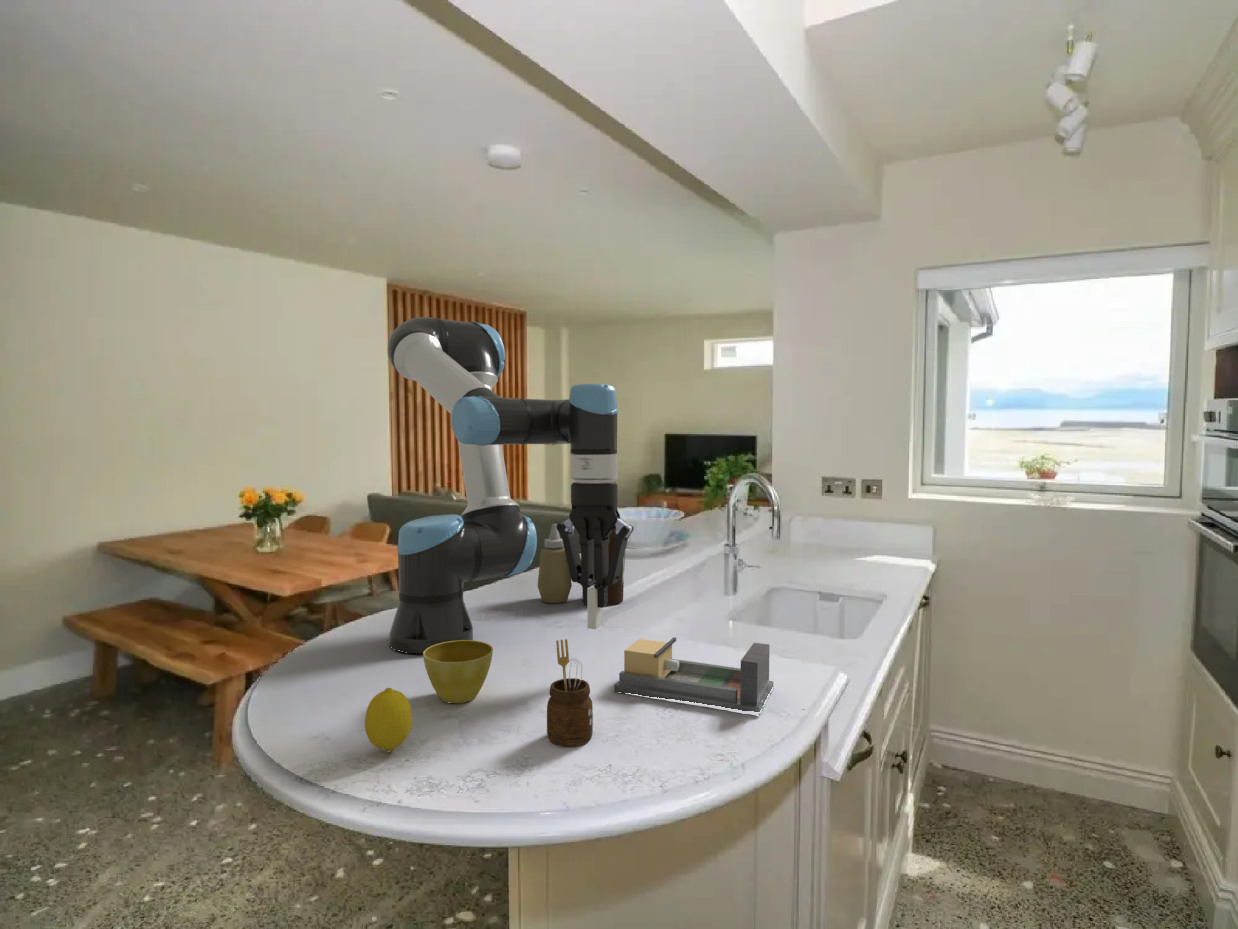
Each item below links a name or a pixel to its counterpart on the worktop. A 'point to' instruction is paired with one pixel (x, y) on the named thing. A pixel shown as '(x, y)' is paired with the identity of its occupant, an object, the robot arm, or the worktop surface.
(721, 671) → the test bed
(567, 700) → the utensil holder
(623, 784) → the worktop surface
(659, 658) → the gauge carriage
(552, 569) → the squeeze bottle
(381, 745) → the lemon
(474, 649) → the yellow bowl
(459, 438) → the robot arm
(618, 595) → the olive oil
